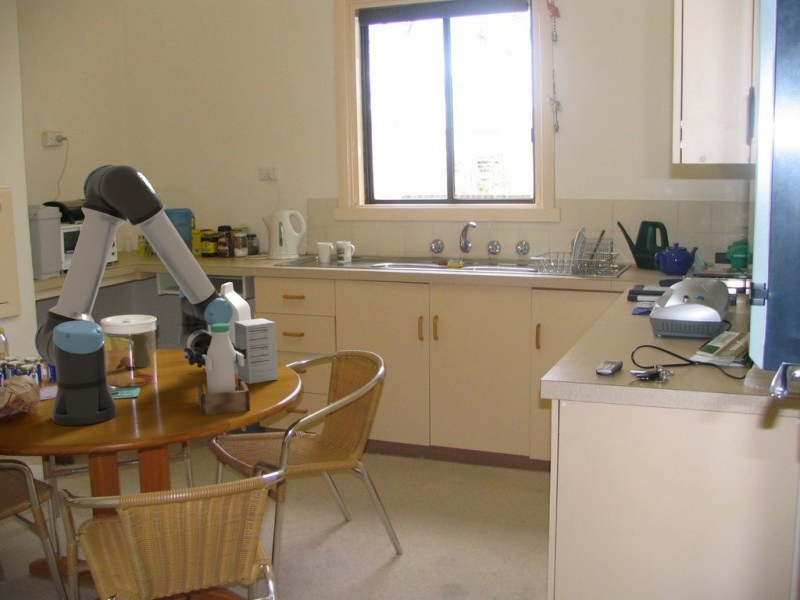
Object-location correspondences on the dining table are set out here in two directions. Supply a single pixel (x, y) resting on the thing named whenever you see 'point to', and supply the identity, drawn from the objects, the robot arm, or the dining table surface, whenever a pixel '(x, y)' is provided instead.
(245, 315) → the milk
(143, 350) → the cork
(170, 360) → the dining table surface
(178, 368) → the dining table surface
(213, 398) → the walnut U-rest
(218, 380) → the milk bottle
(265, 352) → the supplement box
